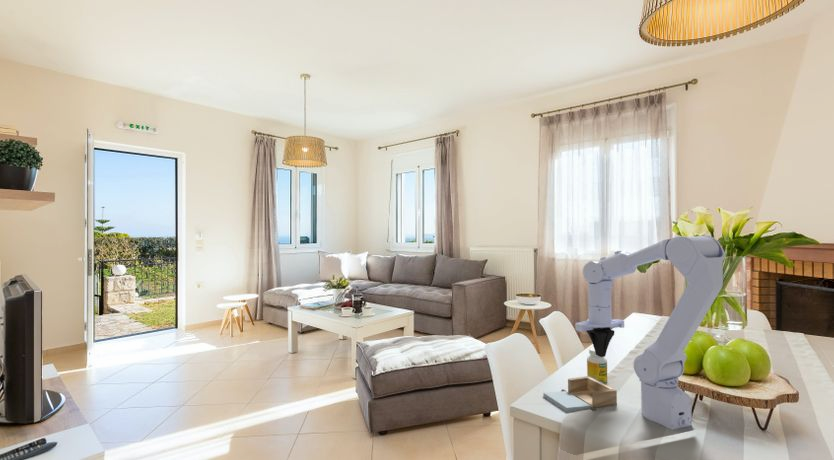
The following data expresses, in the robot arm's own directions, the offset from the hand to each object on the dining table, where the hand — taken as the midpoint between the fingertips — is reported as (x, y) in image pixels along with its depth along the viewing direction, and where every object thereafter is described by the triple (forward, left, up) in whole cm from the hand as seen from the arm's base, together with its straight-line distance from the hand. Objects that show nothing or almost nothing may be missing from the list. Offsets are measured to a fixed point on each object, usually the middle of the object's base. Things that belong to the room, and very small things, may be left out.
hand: (600, 355), depth 104 cm
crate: (-3, +6, -10) cm, 12 cm away
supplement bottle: (+7, -5, -11) cm, 14 cm away
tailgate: (-3, +10, -9) cm, 14 cm away
